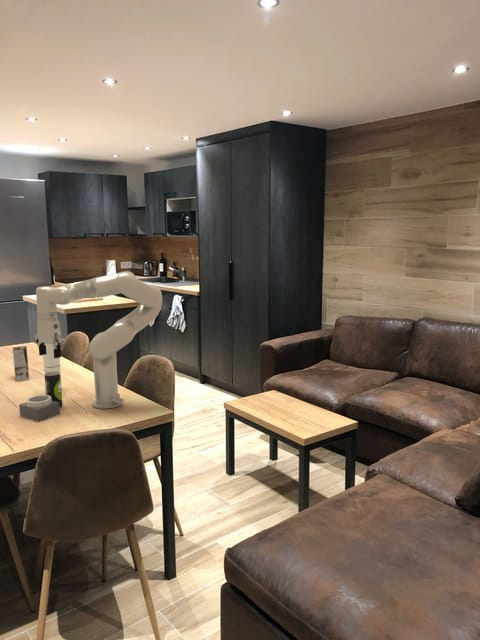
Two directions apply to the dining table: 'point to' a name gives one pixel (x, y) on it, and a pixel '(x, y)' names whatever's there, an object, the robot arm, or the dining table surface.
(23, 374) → the coffee box
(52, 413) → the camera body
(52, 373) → the beverage can
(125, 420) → the dining table surface
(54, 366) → the cylindrical container
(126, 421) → the dining table surface
